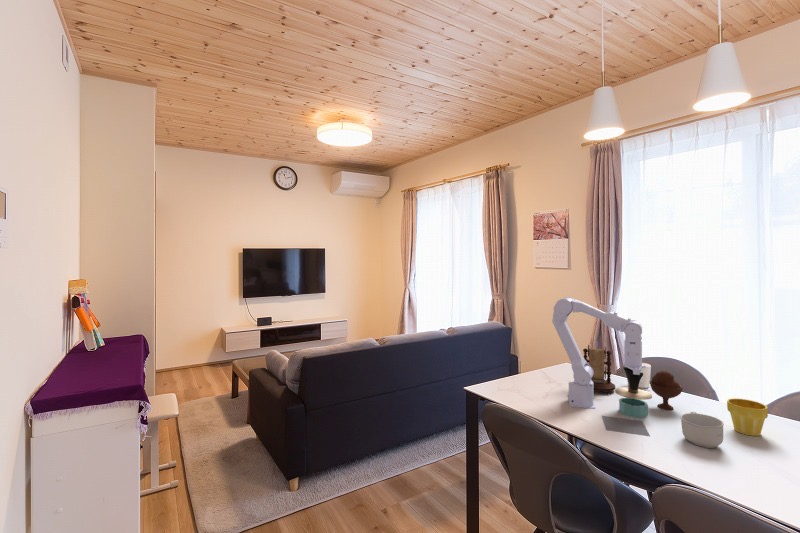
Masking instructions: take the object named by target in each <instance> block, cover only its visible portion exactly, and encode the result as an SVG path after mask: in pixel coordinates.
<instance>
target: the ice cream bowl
mask: <svg viewBox="0 0 800 533" xmlns="http://www.w3.org/2000/svg"><path fill="white" fill-rule="evenodd" d="M674 379H675V377H674V375H673V374H672V372H671V373H670V372H669V371H667V370H660V371H657V372H656V373H655V374H654V375H653V376H652V378H651V380H650V384H649V387H650V388H651V390H652V392H654V393H655V394H656V395H657V396H659V397H660V398H662V403H658V404H657V405H656V406H657V408H658V409H660V410H662V411H671V412H672V411H675V408H674V406H672V405H671V404H669V399H673V398H676V397H678V396H680V395H681V393H682V391H683V390H684V389H683V386H682V384H680V383H679V382H678V381H676V380H674Z"/></svg>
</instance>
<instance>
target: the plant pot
mask: <svg viewBox="0 0 800 533" xmlns="http://www.w3.org/2000/svg"><path fill="white" fill-rule="evenodd" d="M726 408H727V411H728V412H729V415H730V417H731V421H732V424H733V425H732V426H733V429H734V430H735V431H736V432H738V433H740V434H742V435H747V436H752V437H757V436H760V435H761V434H762V431H763V430H762V429H763V426H764V424H765V420H766V419H768V416H769V407H768V406H767V405H766V404H764V403H762V402H759V401H754V400H751V399H746V398H745V399H744V398H728V399H727V400H726Z"/></svg>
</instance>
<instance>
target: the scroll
mask: <svg viewBox="0 0 800 533" xmlns="http://www.w3.org/2000/svg"><path fill="white" fill-rule="evenodd" d="M606 348H607V347H606V346H604V349H600V348H599V349H598V348H590V344H588V345H587V348H583V349H582V351H583V358H584V359H585V360H586V362H587V364H588V365H589V366H590V367H591V368H592V369H593V371H594V375H593V377H592V378H591V380H592V382H593V383H594V391H595V392H606V393H607V394H608V395H609V394H610V393H611V392H613V391H615V389H616V385H615V384H614V383H612V380H611V377H612V376H611V375H612V372H611V366H612V361H611V360H612V359H611V355H612V352H611V350H606ZM606 357H607V358H606ZM605 359H606V361H605ZM605 365H606V366H605Z"/></svg>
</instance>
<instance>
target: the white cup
mask: <svg viewBox="0 0 800 533" xmlns="http://www.w3.org/2000/svg"><path fill="white" fill-rule="evenodd" d="M642 365H645V366H646V368H642V369H641V370H640V373H643V376H642V378H641V379H640V382H639V386H638V388H643V389H646V388H650V381H651V373H652V372H651V371H652V370H651V369H652V366H651V364H650V363H646V362H642Z"/></svg>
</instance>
